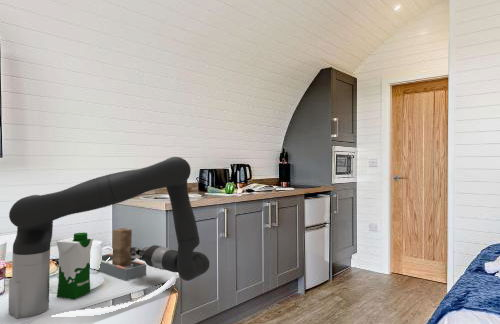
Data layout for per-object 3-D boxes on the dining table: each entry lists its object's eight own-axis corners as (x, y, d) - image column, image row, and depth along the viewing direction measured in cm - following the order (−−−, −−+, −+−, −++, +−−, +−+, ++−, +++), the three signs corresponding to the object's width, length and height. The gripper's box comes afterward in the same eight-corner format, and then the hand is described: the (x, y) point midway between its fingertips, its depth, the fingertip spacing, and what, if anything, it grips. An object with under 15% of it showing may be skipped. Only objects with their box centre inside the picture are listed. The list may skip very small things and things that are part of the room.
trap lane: (125, 281, 128) (125, 269, 128) (88, 267, 144) (88, 257, 144) (146, 275, 136) (146, 263, 136) (108, 263, 151) (109, 253, 151)
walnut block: (119, 267, 134) (120, 231, 134) (112, 265, 137) (113, 229, 137) (131, 265, 138) (131, 229, 138) (123, 262, 141) (124, 228, 141)
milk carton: (75, 301, 109) (76, 236, 109) (51, 297, 111) (53, 234, 111) (94, 291, 117) (96, 231, 117) (72, 288, 120) (73, 230, 120)
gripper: (175, 243, 129) (146, 237, 139) (145, 250, 118) (116, 243, 129) (175, 264, 129) (145, 256, 139) (145, 272, 118) (115, 263, 129)
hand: (131, 250), depth 134 cm, fingers closed
